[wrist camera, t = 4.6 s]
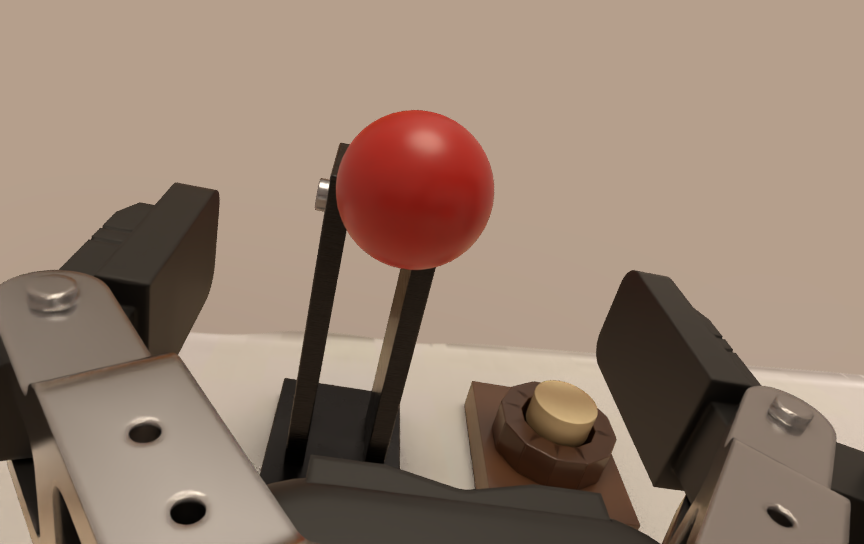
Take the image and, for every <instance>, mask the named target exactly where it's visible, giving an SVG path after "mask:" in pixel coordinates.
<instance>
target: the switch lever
mask: <svg viewBox="0 0 864 544" xmlns="http://www.w3.org/2000/svg"><path fill="white" fill-rule="evenodd" d="M336 199H337V206H338V210H339V213H340V217H341V219H342V221H343V224H344V226H345V228H346V230H347V231H348V233H349V235H350V236H351V237H352V239H353V240H354V241H355V242H356V243H357V245H358V246H359V247H360V248H361V249H363V250H364V251H365V252H366V253H367V254H369V255H370V256H371V257H373V258H375V259H377V260H378V261H380V262H382V263H385V264H387V265H390V266H393V267H397V268H401V269H408V270H422V269H430V268H434V267H438V266H441V265H443V264H446V263H448V262H451V261H452V260H454V259H456V258H457V257H459V256H460V255H461V254H463V253H464V252H466V251H467V250H468V249H469V248H470V247H471V246H472V245H473V244H474V243H475V242H476V240H477V239H478V238H479V236H480V235H481V233H482V231H483V230H484V228H485V226H486V224H487V222H488V220H489V217H490V214H491V210H492V206H493V199H494V180H493V174H492V170H491V166H490V163H489V161H488V158H487V156H486V154H485V152H484V150H483V149H482V147H481V145H480V144H479V143H478V141H477V140H476V139H475V138H474V136H473V135H472V134H471V133H470V132H468V131H467V130H466V129H465V128H464V127H463V126H461V125H460V124H458V123H457V122H456V121H454V120H452V119H450V118H448V117H445V116H443V115H441V114H437V113H433V112H428V111H422V110H411V111H401V112H397V113H392V114H389V115H387V116H384V117H382V118H380V119H378V120H376V121H374V122H373V123H371V124H370V125H368V126H367V127H366V128H365V129H363V130H362V131H361V132H360V133H359V134H358V135H357V136H356V137H355V139H354V140H353V141H352V143H351V144H350V145H349V147H348V149H347V150H346V152H345V154H344V156H343V158H342V161H341V163H340V166H339V170H338V174H337V181H336Z"/></svg>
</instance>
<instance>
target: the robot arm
mask: <svg viewBox="0 0 864 544" xmlns="http://www.w3.org/2000/svg"><path fill="white" fill-rule="evenodd" d="M218 216H219V192H218V191H217V190H213V189H208V188H202V187H197V186H191V185H186V184H181V183H174V184H173V185H172V186H171V187H170V189H169V190H168V191H167V192H166V193H165V194H164V195H163V196H162V198H161V199H160V200H159V201H158V202H157V203H156V204H155V205H151V204H146V203H137V204H135V205H132V206H130V207H127V208H125V209H122V210H120V211H117V212H116V213H115V214H114V215H113V216H112V217H111V218H110V219H109V220H108V221H107V222H106V223H105V224H104V225H103V228H100V229H99V230H98V231H97V232H96V233H95V234H94V235H93V236H92V239H91V240H88V241H87V242H86V243H85V244H84V245H83V246H82V247H81V248H80V249H79V250H78V251H77V252H76V253H75V254H74V255H73V256H72V257H71V258H70V259H69V260H68V261H67V262H66V263H65V264H64V265H63V266H62V267H61V268H60V269H59V270H47V271H37V272H31V273H28V274H23V275H19V276H17V277H14V278H11V279H9V280H7V281H5V282H3V283H2V284H0V461H5V460H7V465H8V469H9V472H10V475H11V478H12V481H13V484H14V487H15V490H16V493H17V496H18V499H19V502H20V506H21V509H22V512H23V515H24V518H25V521H26V524H27V527H28V530H29V533H30V536H31V539H32V543H33V544H660V543H658V542H657V541H655V540H654V539H652V538H651V537H649V536H648V535H646V534H644V533H642V532H640V531H638V530H637V529H635V528H633V527H631V526H628V525H626V524H624V523H622V522H619V521H617V520H615V519H612V518H610V517H609V514H608V511H607V508H606V506H605V503H604V500H603V497H602V494H601V493H596V492H589V491H581V490H574V489H566V488H559V487H551V486H544V485H536V484H529V485H518V486H507V487H496V488H484V489H473V490H463V489H458V488H454V487H451V486H448V485H445V484H442V483H439V482H436V481H433V480H430V479H427V478H424V477H421V476H418V475H415V474H413V473H410V472H407V471H404V470H401V469H398V468H395V467H392V466H389V465H386V464H378V463H371V462H363V461H356V460H348V459H341V458H333V457H326V456H318V455H310V460H309V466H308V471H307V476H306V478H299V479H291V480H286V481H280V482H275V483H271V484H268V485H266V484H265V482H264V481H263V479H262V478H261V476H260V475H259V473H258V472H257V470H256V469H255V467H254V466H253V465H252V463H251V462H250V460H249V459H248V457H247V456H246V454H245V453H244V451H243V450H242V448H241V447H240V445H239V444H238V442H237V441H236V439H235V438H234V436H233V435H232V433H231V432H230V430H229V429H228V427H227V426H226V425H225V423H224V422H223V420H222V419H221V417H220V416H219V414H218V413H217V411H216V410H215V408H214V407H213V405H212V404H211V402H210V401H209V399H208V398H207V396H206V395H205V393H204V392H203V390H202V389H201V387H200V386H199V385H198V383H197V382H196V380H195V379H194V377H193V376H192V374H191V373H190V371H189V370H188V368H187V367H186V365H185V364H184V362H183V361H182V360H181V358H180V357H179V356H178V354H179V352H180V350H181V348H182V346H183V344H184V342H185V340H186V338H187V336H188V334H189V332H190V330H191V328H192V326H193V324H194V323H195V321H196V319H197V317H198V315H199V313H200V311H201V309H202V307H203V305H204V303H205V301H206V299H207V297H208V294H209V291H210V288H211V284H212V280H213V274H214V267H215V255H216V242H217V241H216V240H217V229H218V228H217V227H218ZM732 351H733V349H732V348H731V347H730V345H729V344H728V343H727V341H726V340H725V339H722V335H721V334H720V333H719V331H718V330H717V329H716V328H715V326H714V325H713V324H712V323H711V321H710V320H709V319H707V318H706V317H705V316H704V315H702V314H701V313H700V312H698V311H697V310H696V309H694V308H693V307H692V305H691V304H690V303H689V301H688V300H687V299H686V298H685V296H684V295H683V294H682V292H681V291H680V290H679V289H678V287H677V286H676V285H675V283H674V282H673V281H672V280H671V279H670V278H669V277H666V276H661V275H656V274H651V273H645V272H640V271H635V270H632V271H630V272H628V273H627V274H626V275H625V277H624V278H623V280H622V282H621V284H620V287H619V289H618V291H617V294H616V296H615V299H614V301H613V303H612V306H611V308H610V310H609V313H608V315H607V317H606V320H605V322H604V324H603V327H602V329H601V332H600V334H599V338H598V341H597V349H596V357H597V363H598V365H599V368H600V370H601V372H602V374H603V377H604V379H605V381H606V383H607V385H608V388H609V390H610V392H611V394H612V396H613V398H614V401H615V403H616V405H617V407H618V409H619V412H620V414H621V416H622V418H623V420H624V423H625V425H626V427H627V429H628V431H629V434H630V436H631V438H632V440H633V442H634V445H635V447H636V449H637V451H638V453H639V456H640V458H641V460H642V462H643V464H644V467H645V469H646V471H647V473H648V475H649V478H650V480H651V482H652V484H653V486H654V487H659V488H666V489H673V490H681V491H685V493H686V495H685V497H684V498H683V500H682V502H681V503H680V505H679V507H678V509H677V510H676V513H675V515H674V517H673V519H672V522H671V524H670V526H669V529H668V531H667V533H666V535H665V538H664V540H663V542H662V544H864V452H862V451H860V450H857V449H854V448H851V447H848V446H846V445H843V444H840V443H837V442H836V433H835V430H834V428H833V427H832V425H831V424H830V422H829V421H828V420H827V419H826V418H825V417H824V416H823V415H822V414H821V413H820V412H818V411H817V410H816V409H815V408H813V407H812V406H811V405H809V404H808V403H806V402H804V401H803V400H801V399H799V398H797V397H795V396H793V395H791V394H789V393H787V392H784V391H781V390H779V389H775V388H772V387H766V386H761V385H760V383H759V382H758V381H757V379H756V378H755V377H754V376H753V374H752V373H751V372H750V371H749V369H748V368H747V367H746V366H745V364H744V363H743V362H742V361H741V359H740V358H739V357H738V355H737V354H736V353H733V352H732Z"/></svg>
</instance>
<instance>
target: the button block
mask: <svg viewBox="0 0 864 544" xmlns="http://www.w3.org/2000/svg"><path fill="white" fill-rule="evenodd" d="M539 384H540V382H529V383H525V384H521V385H517V386H513V387H507V386H500V385H494V384H488V383H481V382H475V381H472V383H471V386H470V389H469V392H468V395H467V398H466V402H465V412H466V420H467V427H468V434H469V442H470V449H471V457H472V464H473V471H474V479H475V486H476V489H484V488H496V487H507V486H518V485H529V484H536V485H544V486H551V487H559V488H566V489H574V490H581V491H589V492H596V493H601V494H602V497H603V500H604V503H605V506H606V508H607V511H608V514H609V517H610V518H612V519H615V520H617V521H619V522H622V523H624V524H626V525H628V526H631V527H633V528H635V529H637V530H638V529H639V527H640V524H639V521H638V519H637V516H636V514H635V511H634V509H633V506H632V504H631V501H630V499H629V496H628V494H627V491H626V489H625V486H624V484H623V481H622V479H621V476H620V474H619V471H618V469H617V466H616V464H615V461H614V459H613V456H612V454H611V453H612V450H613V448H614V445H615V443H616V436H615V434H614V431H613V429H612V427H611V424H610V422H609V420H608V418H607V416H606V415H605V414H603V413H602V412H601V411H600V410H599V409H598V408H597V410H598V415H597V418H596V420H595V422H594V424H593V426H592V429H591V431H590V433H589V435H588V437H587V440H586V441H585V442H584V443H583V444H582V445H580V446H578V447H568V446H562V445H557V444H555V443H553V442H551V441H549V440H547V439H545V438H543V437H541V436H539V435H538V434H537V433H536V432H535V431H534V430H533V429H532V428H531V427H530V426H529V425H528V423H527V420H526V412H527V409H528V406H529V404H530V401H531V399H532V396H533V393H534V391H535V388H536V387H537V385H539Z"/></svg>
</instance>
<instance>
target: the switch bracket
mask: <svg viewBox="0 0 864 544" xmlns="http://www.w3.org/2000/svg"><path fill="white" fill-rule="evenodd" d="M349 145H350V144H345V143H340V145H339V148H338V151H337V155H336V158H335V162H334V165H333V169H332V173H331V176H330V180H328V179H323V178H321V179H320V181H319V185H318V191H317V196H316V202H315V210H318V211H324V219H323V225H322V231H321V237H320V243H319V249H318V255H317V261H316V267H315V273H314V280H313V286H312V292H311V298H310V305H309V310H308V316H307V322H306V328H305V334H304V341H303V347H302V353H301V359H300V365H299V371H298V377H297V380H295V379H288V378H285V379H284V382H283V386H282V390H281V394H280V398H279V402H278V405H277V409H276V413H275V417H274V421H273V425H272V429H271V433H270V437H269V440H268V444H267V448H266V452H265V456H264V460H263V464H262V468H261V472H260V476H261V478H262V479H263V481H264V482H265V484H266V485H268V484H271V483H275V482H280V481H286V480H291V479H299V478H306V476H307V471H308V466H309V460H310V455H318V456H326V457H333V458H341V459H348V460H356V461H363V462H371V463H378V464H386V465H389V466H392V467H395V468H398V469H400V401H401V397H402V394H403V390H404V386H405V382H406V379H407V375H408V371H409V367H410V363H411V360H412V356H413V352H414V348H415V344H416V341H417V337H418V333H419V329H420V325H421V321H422V318H423V314H424V310H425V306H426V303H427V298H428V295H429V291H430V288H431V284H432V280H433V276H434V272H435V268H436V267H434V268H430V269H422V270H408V269H400V273H399V277H398V282H397V286H396V290H395V295H394V299H393V303H392V307H391V311H390V316H389V320H388V324H387V329H386V333H385V337H384V341H383V346H382V350H381V354H380V358H379V363H378V367H377V371H376V375H375V380H374V384H373V388H372V391H367V390H360V389H354V388H347V387H341V386H334V385H328V384H321V383H319V377H320V372H321V366H322V361H323V356H324V350H325V345H326V339H327V334H328V328H329V323H330V317H331V312H332V307H333V301H334V296H335V290H336V285H337V279H338V274H339V269H340V263H341V258H342V252H343V247H344V241H345V236H346V231H347V230H346V228H345V226H344V224H343V221H342V219H341V217H340V213H339V210H338V206H337V199H336V181H337V174H338V170H339V166H340V163H341V161H342V158H343V156H344V154H345V152H346V150H347V149H348V147H349Z"/></svg>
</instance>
